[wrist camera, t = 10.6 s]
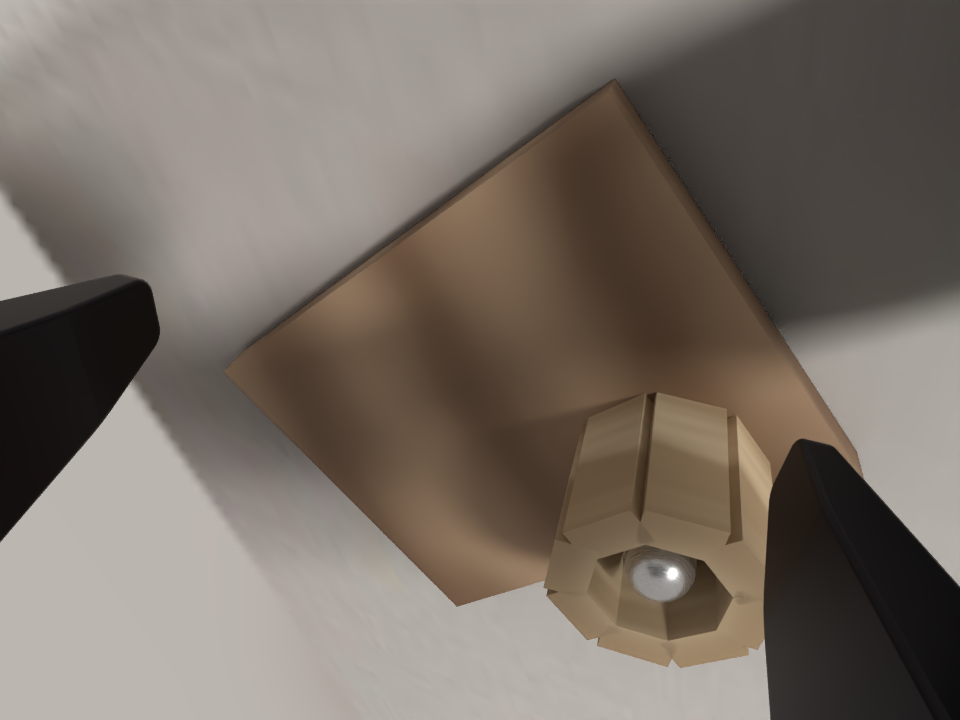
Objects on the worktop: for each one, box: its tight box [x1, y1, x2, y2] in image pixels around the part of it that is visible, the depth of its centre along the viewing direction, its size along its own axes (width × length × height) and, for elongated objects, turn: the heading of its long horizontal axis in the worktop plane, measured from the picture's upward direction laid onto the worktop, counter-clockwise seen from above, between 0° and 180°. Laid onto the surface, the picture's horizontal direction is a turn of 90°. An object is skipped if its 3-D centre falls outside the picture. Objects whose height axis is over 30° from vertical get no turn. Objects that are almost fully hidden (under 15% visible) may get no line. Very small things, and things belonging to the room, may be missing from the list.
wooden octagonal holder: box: [544, 392, 773, 668], centre depth 21 cm, size 6×6×5 cm
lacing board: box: [223, 79, 864, 606], centre depth 24 cm, size 17×14×2 cm
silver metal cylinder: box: [623, 545, 696, 603], centre depth 21 cm, size 2×2×5 cm
